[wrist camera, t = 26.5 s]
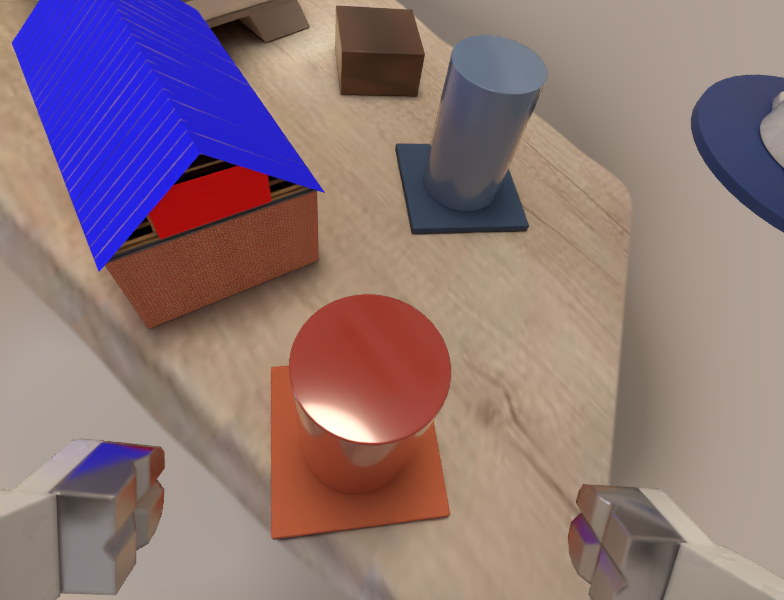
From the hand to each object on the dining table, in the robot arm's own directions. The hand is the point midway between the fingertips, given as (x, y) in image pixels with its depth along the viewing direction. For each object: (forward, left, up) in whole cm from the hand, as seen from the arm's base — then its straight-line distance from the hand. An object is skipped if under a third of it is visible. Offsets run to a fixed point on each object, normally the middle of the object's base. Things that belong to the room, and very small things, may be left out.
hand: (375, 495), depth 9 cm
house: (+10, -24, -17) cm, 31 cm away
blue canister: (-11, -24, -16) cm, 31 cm away
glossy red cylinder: (-1, -5, -16) cm, 17 cm away
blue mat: (-11, -24, -17) cm, 32 cm away
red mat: (-1, -5, -17) cm, 18 cm away
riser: (-6, -39, -17) cm, 43 cm away
